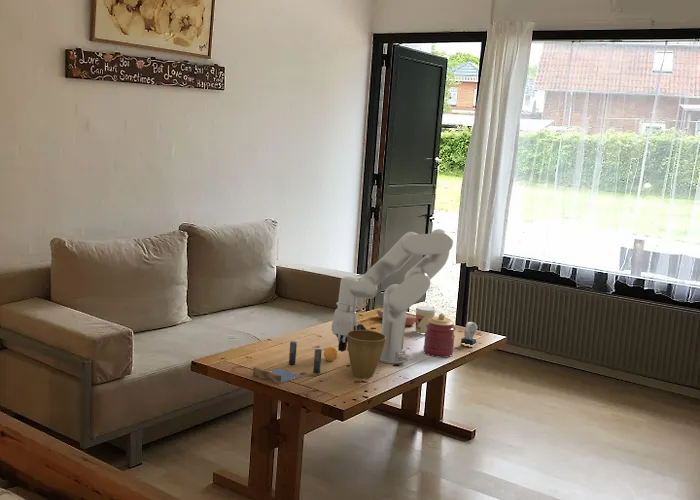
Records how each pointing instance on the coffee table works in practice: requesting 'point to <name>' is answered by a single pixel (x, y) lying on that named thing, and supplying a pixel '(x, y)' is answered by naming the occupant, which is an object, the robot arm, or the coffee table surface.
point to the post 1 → (292, 353)
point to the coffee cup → (423, 317)
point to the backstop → (267, 375)
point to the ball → (330, 354)
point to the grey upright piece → (469, 333)
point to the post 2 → (317, 361)
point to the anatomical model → (409, 317)
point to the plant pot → (365, 351)
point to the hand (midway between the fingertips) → (342, 350)
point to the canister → (439, 336)
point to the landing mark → (285, 374)
